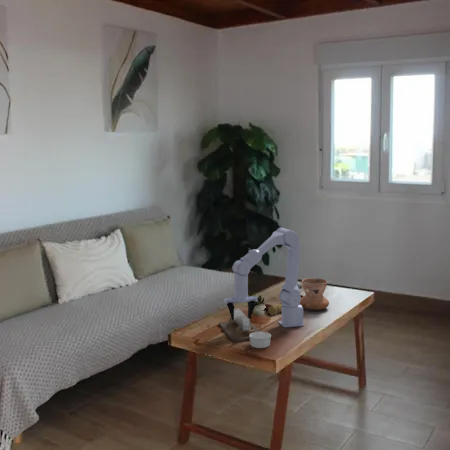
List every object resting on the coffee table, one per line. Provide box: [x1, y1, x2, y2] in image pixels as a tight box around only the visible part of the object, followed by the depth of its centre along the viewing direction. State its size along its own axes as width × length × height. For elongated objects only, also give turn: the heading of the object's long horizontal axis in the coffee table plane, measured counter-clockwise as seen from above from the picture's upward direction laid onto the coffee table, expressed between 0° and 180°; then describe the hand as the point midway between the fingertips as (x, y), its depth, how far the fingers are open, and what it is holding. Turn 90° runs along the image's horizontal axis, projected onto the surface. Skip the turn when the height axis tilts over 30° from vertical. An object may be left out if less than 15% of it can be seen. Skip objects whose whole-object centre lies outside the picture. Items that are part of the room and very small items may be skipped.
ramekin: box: [249, 331, 272, 349], centre depth 249 cm, size 9×9×4 cm
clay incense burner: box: [299, 277, 330, 311], centre depth 299 cm, size 18×14×14 cm
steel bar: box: [234, 308, 250, 331], centre depth 265 cm, size 16×3×5 cm, turn 15°
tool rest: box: [218, 317, 261, 343], centre depth 265 cm, size 14×24×4 cm, turn 14°
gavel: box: [264, 302, 282, 316], centre depth 299 cm, size 21×5×10 cm
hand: (241, 318), depth 265 cm, fingers open, 7 cm apart
